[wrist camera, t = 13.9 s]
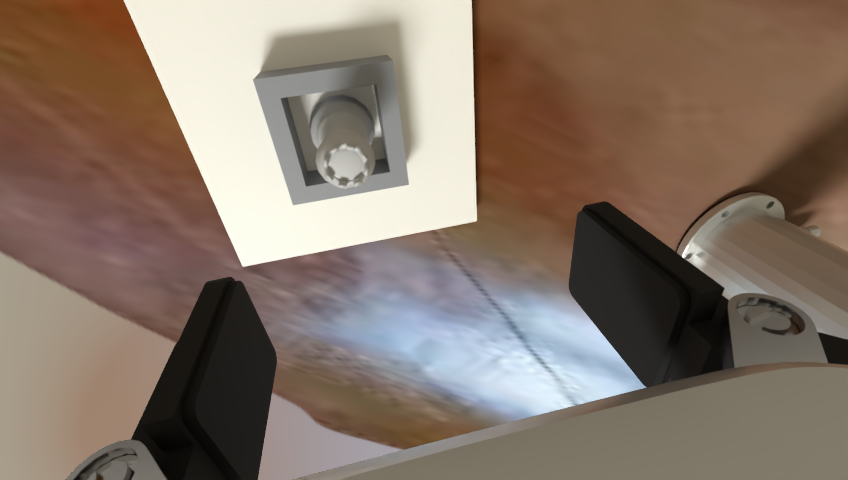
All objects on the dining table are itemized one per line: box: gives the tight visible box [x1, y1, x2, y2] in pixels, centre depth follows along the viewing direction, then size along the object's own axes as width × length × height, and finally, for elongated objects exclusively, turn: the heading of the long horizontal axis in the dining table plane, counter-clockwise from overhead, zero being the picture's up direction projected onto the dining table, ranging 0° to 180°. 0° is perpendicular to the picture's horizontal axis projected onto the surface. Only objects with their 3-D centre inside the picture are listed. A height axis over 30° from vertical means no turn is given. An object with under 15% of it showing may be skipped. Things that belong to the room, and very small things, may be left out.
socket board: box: [124, 0, 477, 267], centre depth 27 cm, size 20×20×4 cm
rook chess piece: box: [309, 95, 375, 189], centre depth 24 cm, size 4×4×8 cm
